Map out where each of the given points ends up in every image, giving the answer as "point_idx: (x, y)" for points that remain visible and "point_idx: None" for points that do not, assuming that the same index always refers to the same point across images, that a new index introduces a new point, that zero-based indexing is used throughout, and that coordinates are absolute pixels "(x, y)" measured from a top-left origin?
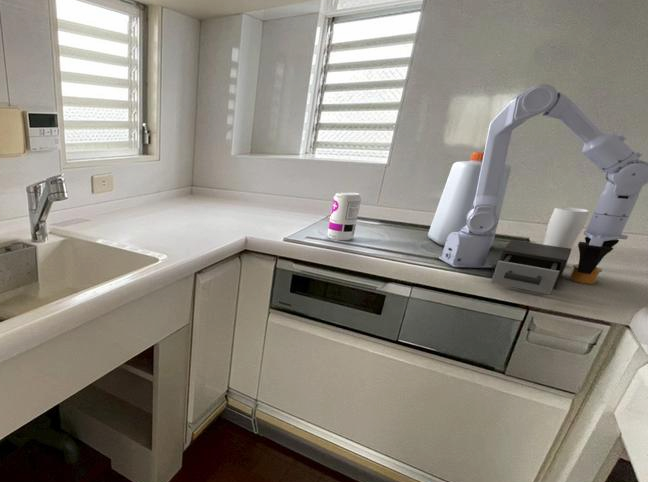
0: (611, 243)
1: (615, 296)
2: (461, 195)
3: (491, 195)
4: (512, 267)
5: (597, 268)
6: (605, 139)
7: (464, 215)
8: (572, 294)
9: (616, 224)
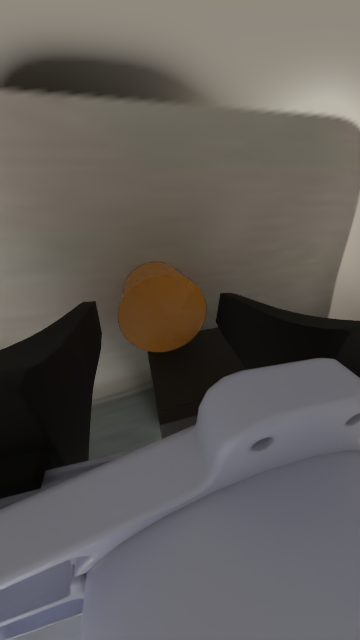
0: (47, 388)
1: (280, 192)
2: None
3: None
4: None
5: (149, 292)
6: None
7: (79, 635)
8: (316, 281)
9: None
